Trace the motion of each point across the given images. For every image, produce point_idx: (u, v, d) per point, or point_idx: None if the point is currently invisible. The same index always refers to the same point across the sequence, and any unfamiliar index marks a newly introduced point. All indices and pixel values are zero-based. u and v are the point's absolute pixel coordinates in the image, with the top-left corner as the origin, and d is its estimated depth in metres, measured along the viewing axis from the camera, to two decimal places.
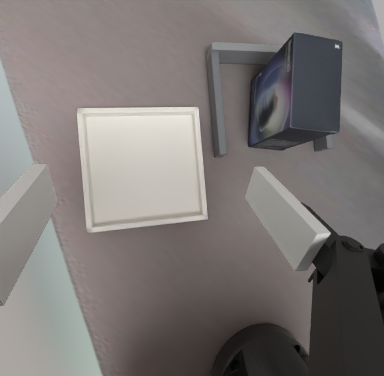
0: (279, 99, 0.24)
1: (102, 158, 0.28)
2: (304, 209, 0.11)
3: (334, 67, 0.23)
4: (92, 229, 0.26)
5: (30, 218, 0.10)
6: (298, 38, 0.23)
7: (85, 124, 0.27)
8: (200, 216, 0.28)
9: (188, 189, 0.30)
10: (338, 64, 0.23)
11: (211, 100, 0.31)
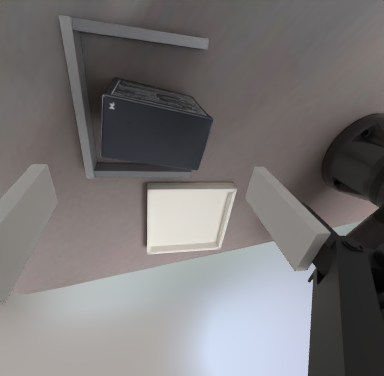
0: None
1: (177, 239, 0.43)
2: (304, 209, 0.11)
3: (139, 114, 0.19)
4: (219, 247, 0.44)
5: (30, 218, 0.10)
6: (108, 154, 0.21)
7: (155, 247, 0.42)
8: (233, 193, 0.37)
9: (210, 194, 0.38)
10: (135, 108, 0.19)
11: None
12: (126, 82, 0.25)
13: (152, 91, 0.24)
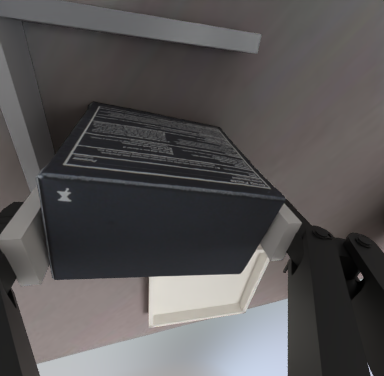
0: None
1: (188, 304, 0.32)
2: None
3: (132, 206, 0.08)
4: (243, 311, 0.34)
5: None
6: (68, 274, 0.10)
7: (160, 317, 0.32)
8: None
9: None
10: (122, 195, 0.08)
11: None
12: (111, 111, 0.14)
13: (157, 129, 0.14)
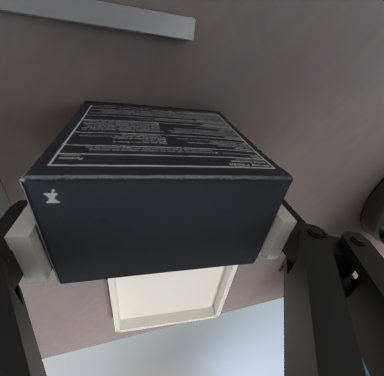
0: None
1: (159, 308, 0.31)
2: None
3: (124, 202, 0.08)
4: (217, 315, 0.33)
5: None
6: (73, 277, 0.10)
7: (128, 321, 0.30)
8: None
9: None
10: (112, 191, 0.08)
11: None
12: (103, 108, 0.14)
13: (151, 120, 0.13)
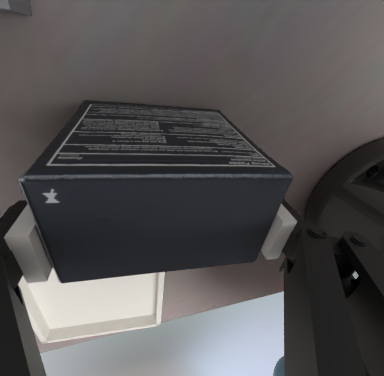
0: None
1: (91, 317, 0.29)
2: None
3: (124, 201, 0.08)
4: (157, 323, 0.31)
5: None
6: (74, 277, 0.10)
7: (57, 331, 0.28)
8: None
9: None
10: (111, 190, 0.08)
11: None
12: (102, 108, 0.14)
13: (150, 119, 0.13)
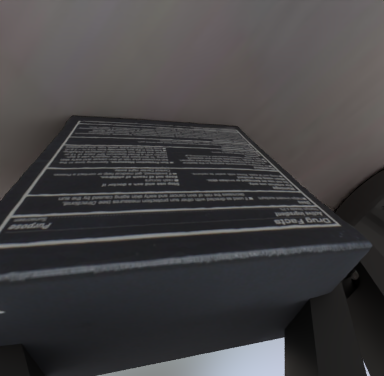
0: None
1: None
2: None
3: (116, 300, 0.05)
4: None
5: None
6: None
7: None
8: None
9: None
10: (94, 289, 0.05)
11: None
12: (94, 126, 0.11)
13: (155, 143, 0.10)
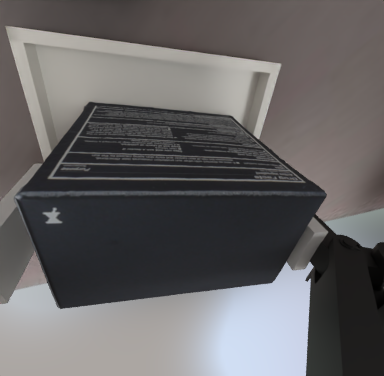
0: None
1: None
2: None
3: (138, 221, 0.07)
4: None
5: None
6: (74, 302, 0.09)
7: None
8: (270, 79, 0.14)
9: (208, 88, 0.15)
10: (124, 209, 0.06)
11: None
12: (109, 110, 0.13)
13: (161, 124, 0.12)
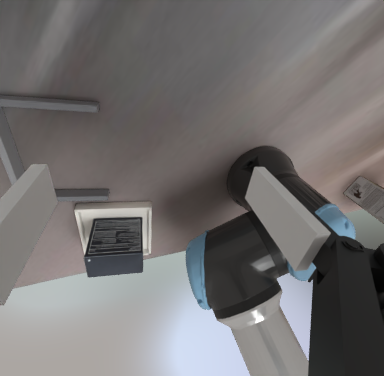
0: None
1: None
2: (304, 209, 0.11)
3: (103, 260, 0.39)
4: (149, 253, 0.53)
5: (30, 218, 0.10)
6: (91, 275, 0.41)
7: None
8: (149, 210, 0.46)
9: (132, 211, 0.47)
10: (100, 258, 0.38)
11: None
12: (99, 223, 0.45)
13: (113, 229, 0.44)
